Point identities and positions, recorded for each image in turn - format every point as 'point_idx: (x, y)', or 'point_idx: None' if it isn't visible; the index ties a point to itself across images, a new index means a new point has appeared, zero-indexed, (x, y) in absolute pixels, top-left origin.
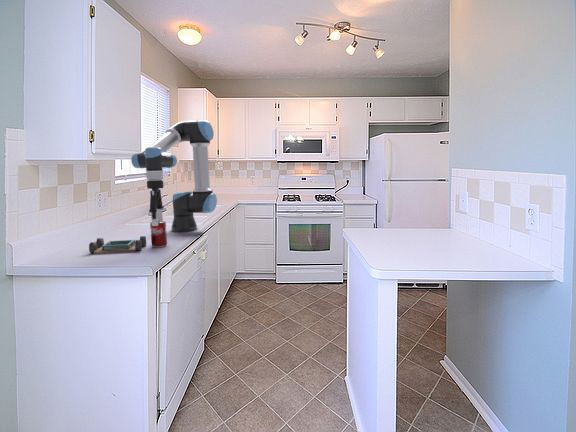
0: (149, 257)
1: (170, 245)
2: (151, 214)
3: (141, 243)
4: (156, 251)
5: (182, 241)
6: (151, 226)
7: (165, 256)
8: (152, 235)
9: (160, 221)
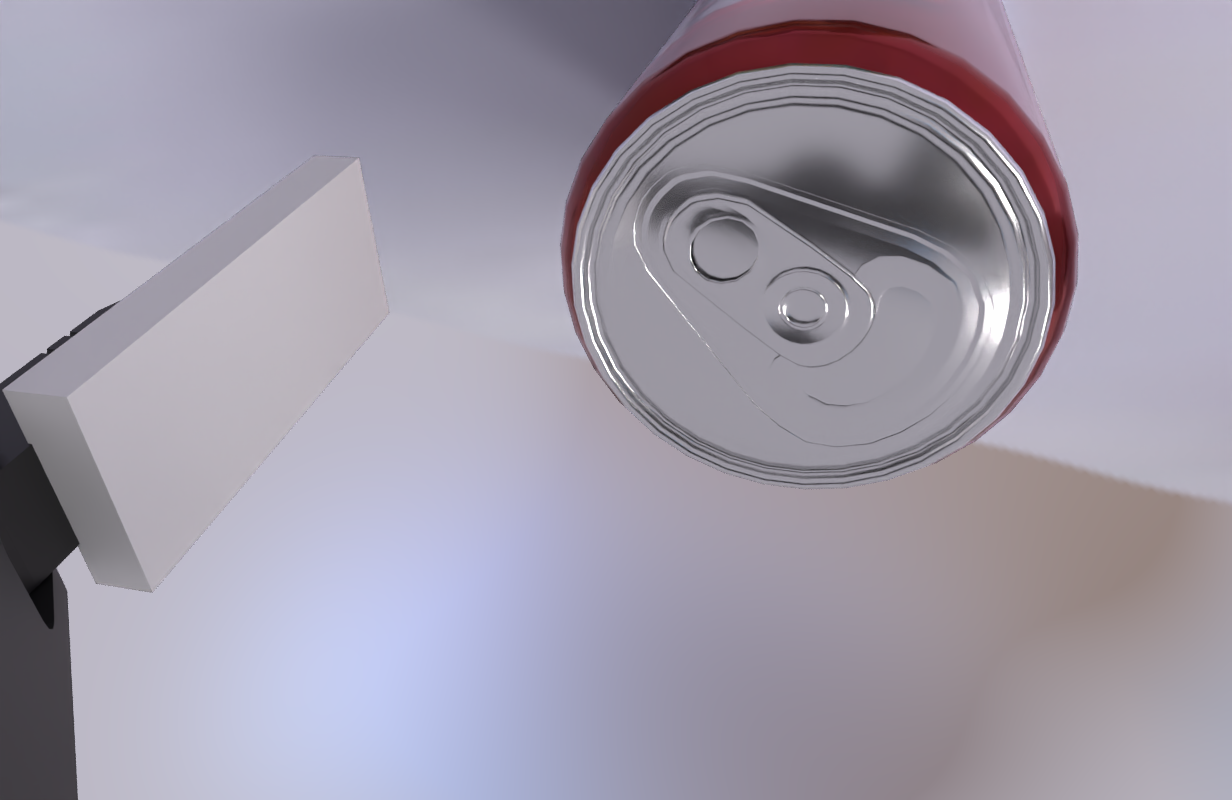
0: (4, 31)
1: None
2: (81, 347)
3: None
4: (377, 76)
5: (1145, 445)
6: (648, 71)
7: (88, 241)
8: (688, 14)
9: (955, 371)
